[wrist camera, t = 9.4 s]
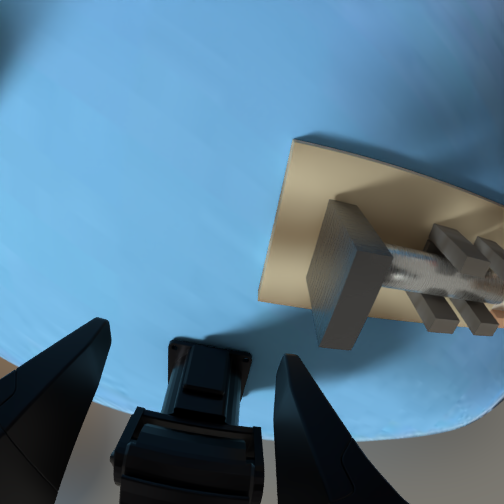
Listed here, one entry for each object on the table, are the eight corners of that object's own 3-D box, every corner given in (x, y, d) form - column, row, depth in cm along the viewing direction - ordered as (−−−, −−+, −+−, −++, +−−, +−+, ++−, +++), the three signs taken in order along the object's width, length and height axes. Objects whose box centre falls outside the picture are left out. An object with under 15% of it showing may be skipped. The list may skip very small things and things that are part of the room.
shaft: (473, 303, 20) (509, 356, 15) (305, 277, 19) (318, 347, 14) (502, 245, 17) (549, 291, 12) (329, 198, 17) (357, 250, 12)
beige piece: (473, 319, 23) (501, 362, 18) (258, 290, 22) (256, 347, 17) (524, 215, 18) (567, 247, 13) (292, 138, 17) (304, 158, 12)
